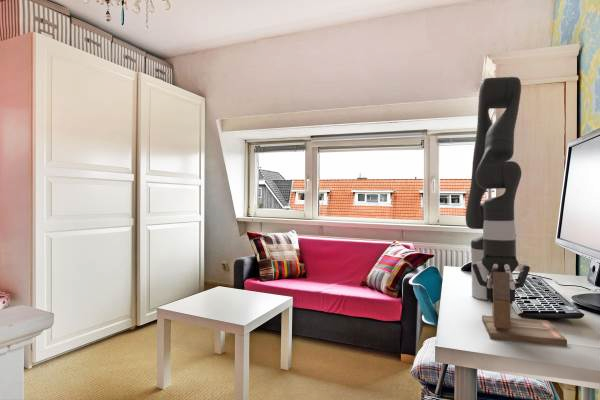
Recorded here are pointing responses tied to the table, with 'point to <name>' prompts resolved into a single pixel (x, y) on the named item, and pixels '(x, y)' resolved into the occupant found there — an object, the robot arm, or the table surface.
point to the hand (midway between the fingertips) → (500, 302)
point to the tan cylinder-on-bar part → (501, 300)
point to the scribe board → (526, 331)
